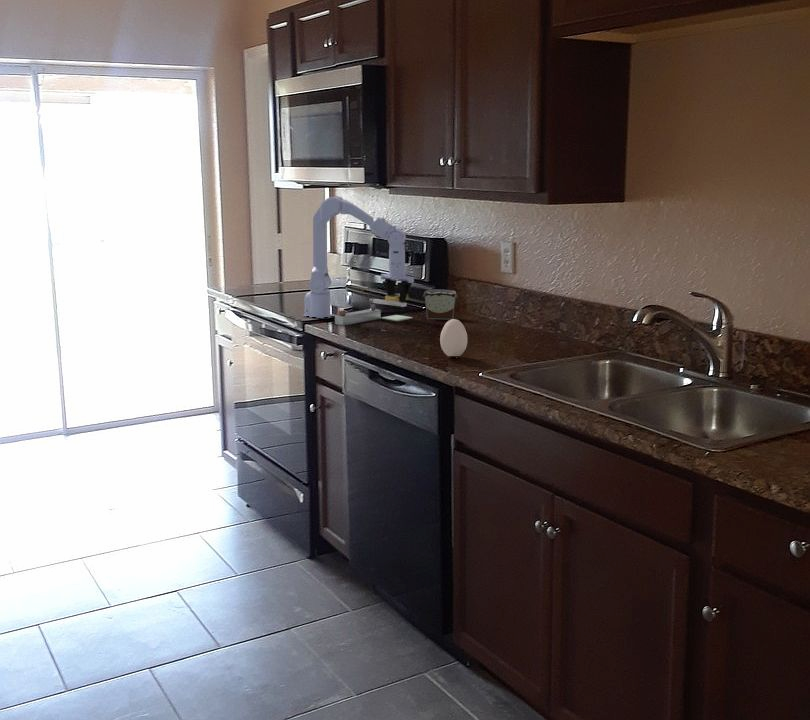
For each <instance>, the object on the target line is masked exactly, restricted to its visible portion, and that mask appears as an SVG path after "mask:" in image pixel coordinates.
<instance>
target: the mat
mask: <svg viewBox="0 0 810 720" xmlns="http://www.w3.org/2000/svg"><path fill="white" fill-rule="evenodd" d="M381 319H382V320H388V321H394V322H401V321H402V322H403V321H406V320H411V319H413V317H412V316H407V315H398V314H394V315H388V316H382V317H381Z"/></svg>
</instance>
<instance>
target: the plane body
mask: <svg viewBox="0 0 810 720" xmlns="http://www.w3.org/2000/svg"><path fill="white" fill-rule="evenodd" d="M369 304H370V308H368V309H363V310H358V311H357V310H356V311H352V312H346V310H345V309H344V310H342V309H341V310H338V314H334V315H335V316H334V324H335V325H337V326H343V327H344V326H347V325H352V324H353V325H354V324H359V323H365V322H368V321H369V322H370V321H375V320H381V319H382V317H381V315H382V314H381V313H382V312H381V309H377V308H376V303H370V302H369Z"/></svg>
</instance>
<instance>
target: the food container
mask: <svg viewBox="0 0 810 720" xmlns="http://www.w3.org/2000/svg"><path fill="white" fill-rule="evenodd" d="M422 297H423V298H424V300H425V309H426V318H427V319H426V320H452V319H454V314H455V304H456V298H458V295H457V292H456V291H455V290H451V289H428V290H425V291H424V293H423V295H422Z"/></svg>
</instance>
